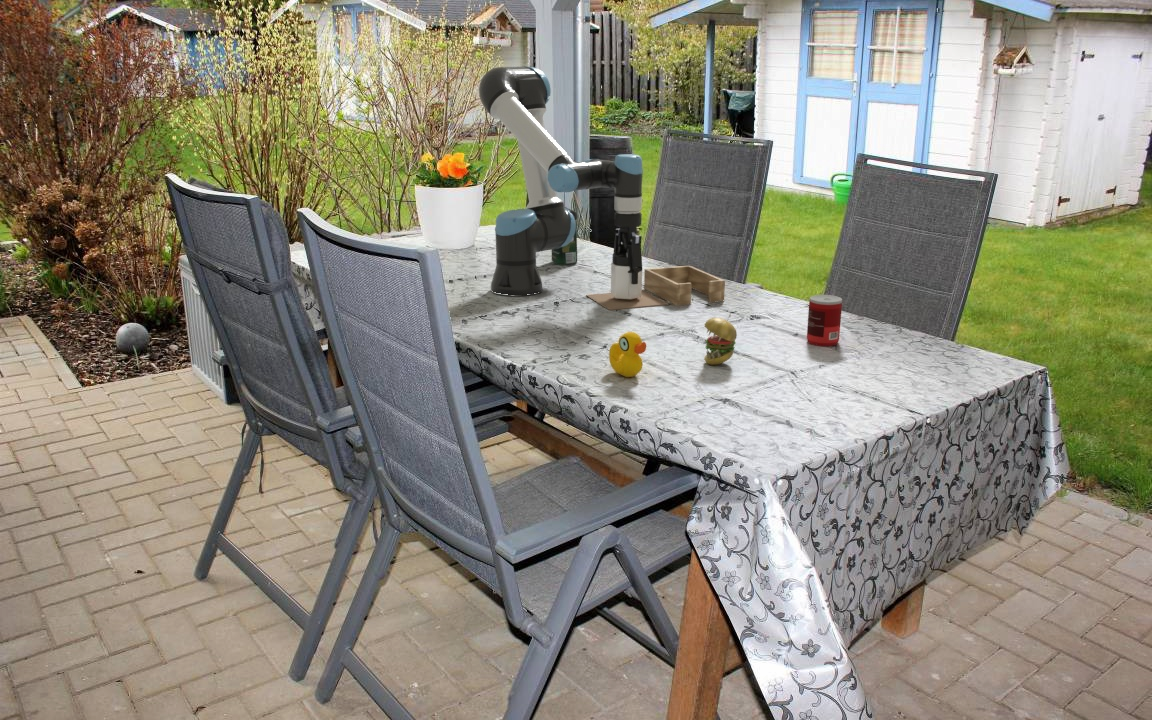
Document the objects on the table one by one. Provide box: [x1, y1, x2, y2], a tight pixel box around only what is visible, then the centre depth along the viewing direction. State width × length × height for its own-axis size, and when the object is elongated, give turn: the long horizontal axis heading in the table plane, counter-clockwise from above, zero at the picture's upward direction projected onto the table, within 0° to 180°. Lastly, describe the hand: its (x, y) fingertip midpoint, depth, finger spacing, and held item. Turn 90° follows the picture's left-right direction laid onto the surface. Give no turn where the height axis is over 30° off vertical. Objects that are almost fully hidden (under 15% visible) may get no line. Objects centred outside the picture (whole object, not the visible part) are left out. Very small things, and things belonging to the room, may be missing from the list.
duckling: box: [608, 331, 647, 378], centre depth 216 cm, size 11×5×10 cm, turn 35°
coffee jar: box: [551, 206, 578, 266], centre depth 332 cm, size 10×8×19 cm
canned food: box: [806, 294, 843, 347], centre depth 241 cm, size 8×8×11 cm
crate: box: [643, 265, 726, 307], centre depth 289 cm, size 15×22×6 cm
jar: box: [610, 252, 643, 299], centre depth 282 cm, size 9×8×12 cm
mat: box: [585, 289, 670, 311], centre depth 284 cm, size 18×18×1 cm
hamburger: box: [703, 312, 738, 366], centre depth 224 cm, size 8×7×12 cm
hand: (626, 291), depth 283 cm, fingers closed on jar, 8 cm apart
